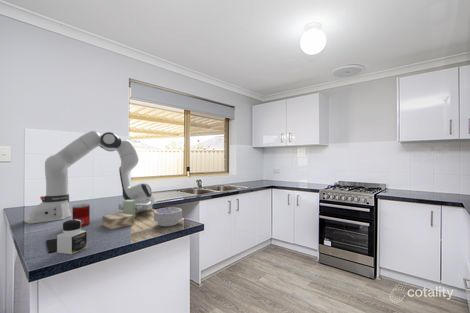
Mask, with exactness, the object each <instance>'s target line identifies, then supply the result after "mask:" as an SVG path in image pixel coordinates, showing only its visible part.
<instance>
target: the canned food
mask: <svg viewBox="0 0 470 313" xmlns="http://www.w3.org/2000/svg"><path fill="white" fill-rule="evenodd" d="M90 207H91V206H90V204H89V203H80V204H79V203H78V204H75V205H72V213H71V216H72V220H75V219H77V220H80V221H81V228H83V227H86V226H88V225H90V223H91V221H90V214H91V212H90Z"/></svg>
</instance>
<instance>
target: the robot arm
mask: <svg viewBox="0 0 470 313" xmlns="http://www.w3.org/2000/svg"><path fill="white" fill-rule="evenodd" d="M97 147H99V148H101V149H103V150H104V151H108V152H115V151H117V154H118V155H119V158H120V167H119V168H118V170H119V171H118V172H119V177H120V178H119V179H120V183H121V188H122V198H123V201H125V200H135V212H142V211H151V210H153V205H154V203H155V201H156V200H155V197H154V195H153V194H152V188H151V185H149V184H148V183H146V182H140V183H138V184H135V185H132V186H131V184H130V178H129V174H130V172H131V171H132V170H133V169H134V168H136V166H137V165H138V163H139V156H138V152H137V150H136V148H135V146H134V145H133V143H132V142H131V141H130V140H129V139H127V140H126V139H125V140H122V138H120V137H119V136H118V135H117V134H116V133H114V132H111V131H106V132H105V133H102V135H101V133H100V132H97V131H96V130H91V131H89V132H86V133H85V134H83V135H82V134H81V136H79V137H78V138H76V139H74V140H73V141H72V142H70V143H69V144H68V145H66V146H65V147H63V148H62V149H61V150H59V151H58V152H57V153H55V154H53V155H50V156H49V157H47V158H46V159H45V161H44V175H45V191H46V192H45V195H44V196H43V195H42V196H40V197H39V199H40V200H41V203H39V204H37V205H36V206H35V207H33V208H32V209H31V211H30V213H29V217H27V218H25V219H24V223H25V224H30V225H31V224H37V223H47V222H53V221H62V220H64V219H66V218H67V219H68V218H70V217H71V216H72V213H71V210H70V204H69V203H70V194H69V175H68V174H69V172H68V168H70V167H71V166H72V165H74V164H75V163H77V162H78V161H79V160H81V159H82V158H83V157H85V156H86V155H88V154H89V153H91V152H92V151H93V150H95V149H96V148H97ZM117 208H118V210H119V211H123V202H121V203H118V205H117Z"/></svg>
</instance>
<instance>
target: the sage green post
mask: <svg viewBox="0 0 470 313" xmlns="http://www.w3.org/2000/svg"><path fill="white" fill-rule="evenodd" d="M122 203H123V210H122V211H123V212H126V213H129V214H131V215H134V219H135V218H136V210H135V200H123V201H122ZM123 212H122V213H123Z"/></svg>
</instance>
